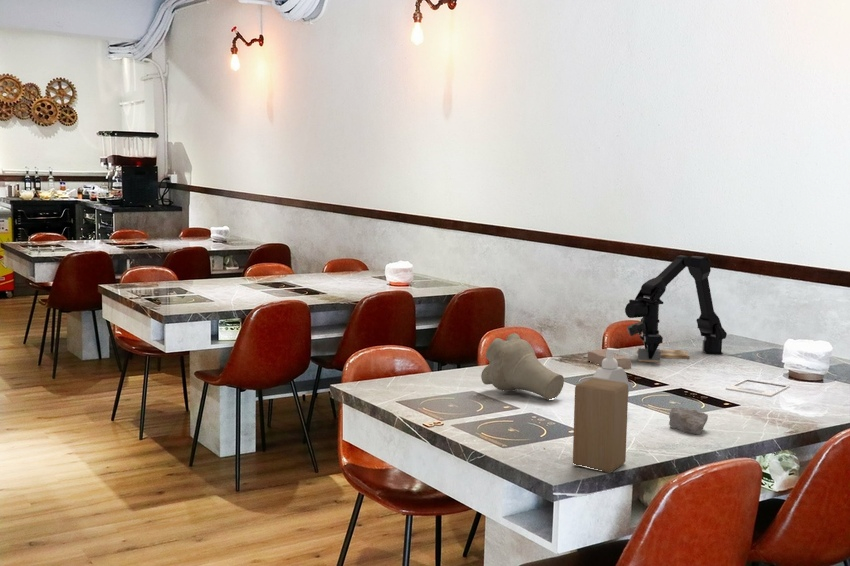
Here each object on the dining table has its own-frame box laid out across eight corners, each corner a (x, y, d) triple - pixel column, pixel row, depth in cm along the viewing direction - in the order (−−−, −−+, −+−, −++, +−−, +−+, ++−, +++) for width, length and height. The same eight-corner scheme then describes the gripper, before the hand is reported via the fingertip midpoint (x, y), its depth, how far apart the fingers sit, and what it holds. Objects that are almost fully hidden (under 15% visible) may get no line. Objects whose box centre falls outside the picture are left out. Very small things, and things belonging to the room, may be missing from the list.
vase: (594, 358, 274) (525, 325, 293) (556, 357, 258) (485, 322, 276) (572, 422, 278) (505, 386, 296) (532, 425, 262) (464, 386, 280)
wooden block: (588, 455, 220) (591, 376, 217) (626, 463, 214) (630, 382, 212) (570, 466, 211) (573, 384, 209) (610, 474, 206) (613, 390, 203)
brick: (632, 369, 322) (633, 356, 321) (613, 371, 318) (614, 358, 317) (604, 360, 336) (604, 348, 336) (586, 362, 333) (586, 350, 332)
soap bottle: (603, 424, 248) (606, 354, 245) (586, 421, 251) (589, 351, 249) (629, 412, 260) (631, 346, 258) (612, 409, 264) (615, 343, 261)
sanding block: (659, 359, 338) (659, 349, 337) (660, 362, 333) (660, 351, 332) (637, 358, 339) (638, 348, 339) (638, 361, 334) (638, 350, 334)
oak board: (683, 353, 350) (683, 350, 350) (689, 358, 339) (689, 355, 339) (636, 352, 352) (636, 349, 351) (641, 357, 341) (641, 354, 341)
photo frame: (725, 387, 290) (746, 378, 304) (725, 390, 291) (746, 381, 304) (770, 394, 281) (790, 385, 295) (770, 398, 281) (789, 388, 295)
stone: (664, 431, 242) (665, 410, 241) (673, 424, 249) (674, 404, 248) (701, 437, 237) (702, 415, 236) (708, 430, 244) (709, 409, 243)
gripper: (625, 312, 344) (623, 351, 346) (632, 319, 325) (631, 361, 327) (654, 312, 343) (652, 352, 345) (663, 320, 325) (662, 362, 326)
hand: (648, 357), depth 336 cm, fingers closed on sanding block, 5 cm apart
